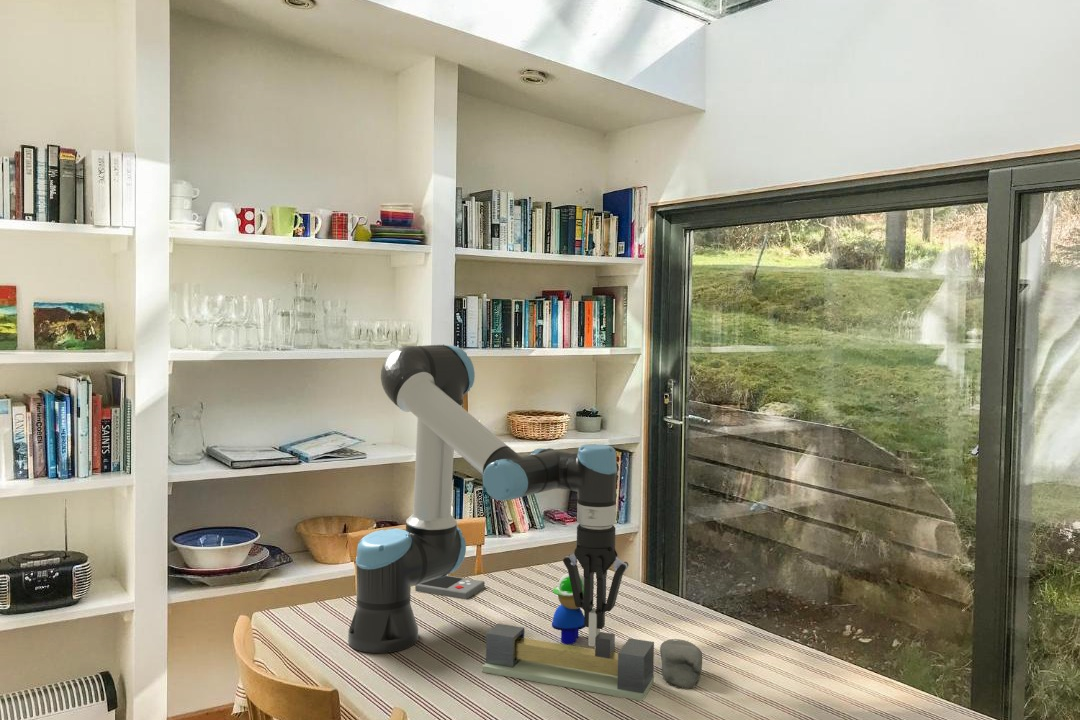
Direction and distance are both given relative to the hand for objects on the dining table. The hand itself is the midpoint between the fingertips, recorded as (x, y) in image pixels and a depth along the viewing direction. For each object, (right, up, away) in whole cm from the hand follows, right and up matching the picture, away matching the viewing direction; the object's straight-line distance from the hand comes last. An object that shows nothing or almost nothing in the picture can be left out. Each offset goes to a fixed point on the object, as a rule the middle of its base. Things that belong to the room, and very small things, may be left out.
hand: (594, 643), depth 167 cm
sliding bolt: (-4, -5, +2) cm, 7 cm away
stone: (+17, -8, +3) cm, 20 cm away
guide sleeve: (-18, -6, +7) cm, 20 cm away
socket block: (+8, -7, -3) cm, 11 cm away
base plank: (-5, -7, +2) cm, 9 cm away
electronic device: (-34, -5, +56) cm, 65 cm away
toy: (-3, -7, +22) cm, 23 cm away
